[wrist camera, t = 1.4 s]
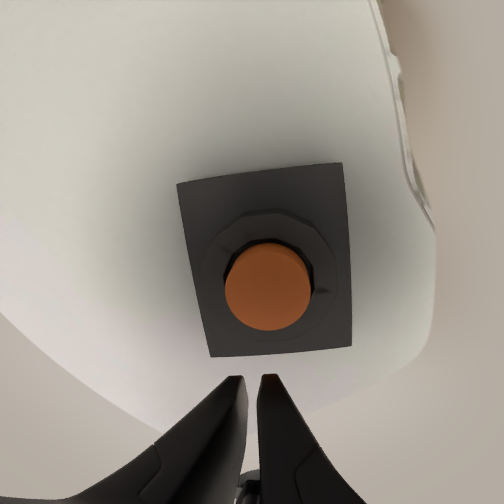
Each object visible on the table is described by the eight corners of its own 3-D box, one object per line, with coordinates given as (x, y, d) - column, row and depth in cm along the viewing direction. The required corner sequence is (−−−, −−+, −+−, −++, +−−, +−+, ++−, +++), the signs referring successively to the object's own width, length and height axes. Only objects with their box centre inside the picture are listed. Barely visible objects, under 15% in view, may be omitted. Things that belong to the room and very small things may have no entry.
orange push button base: (346, 329, 21) (357, 362, 17) (216, 340, 22) (204, 374, 18) (335, 162, 18) (349, 162, 14) (187, 181, 19) (164, 186, 15)
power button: (310, 311, 17) (313, 327, 15) (236, 317, 17) (231, 333, 16) (304, 238, 16) (307, 247, 14) (224, 247, 16) (218, 256, 14)
